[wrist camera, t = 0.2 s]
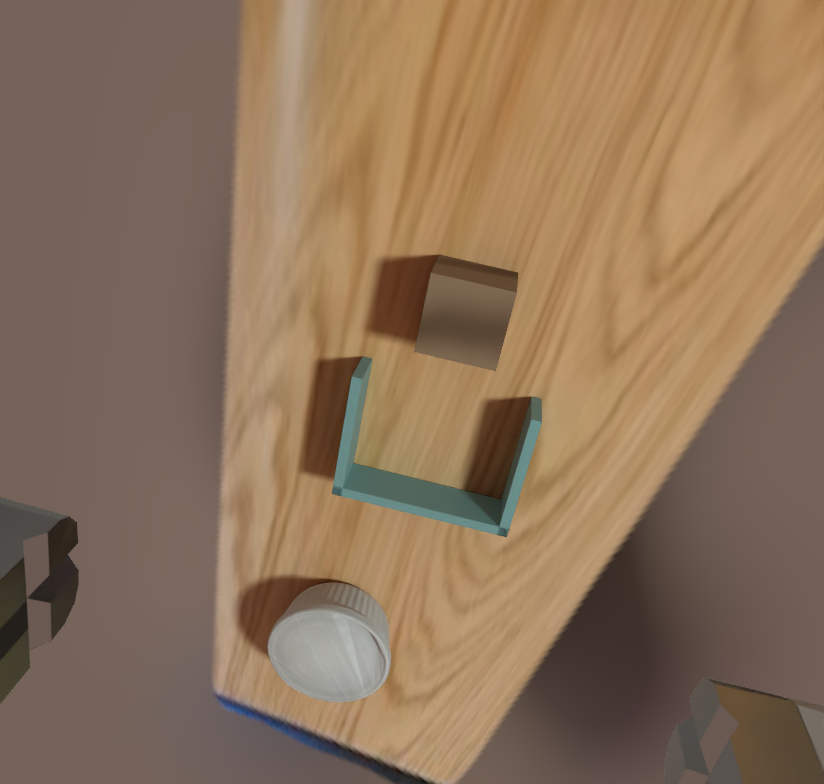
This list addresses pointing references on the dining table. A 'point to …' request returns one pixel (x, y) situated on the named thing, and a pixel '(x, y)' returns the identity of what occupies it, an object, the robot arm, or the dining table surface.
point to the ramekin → (332, 643)
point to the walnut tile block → (466, 312)
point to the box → (425, 494)
